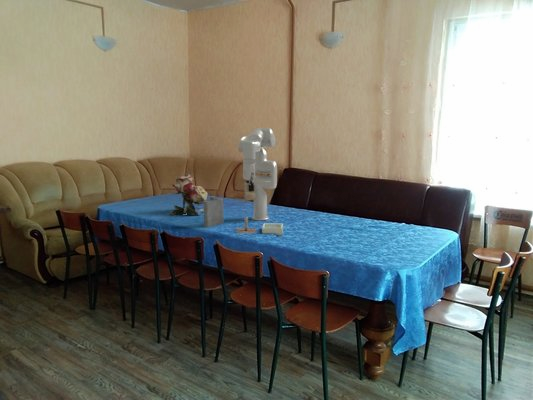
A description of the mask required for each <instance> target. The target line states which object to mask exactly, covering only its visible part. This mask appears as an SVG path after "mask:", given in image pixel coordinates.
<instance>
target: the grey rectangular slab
mask: <svg viewBox="0 0 533 400" xmlns="http://www.w3.org/2000/svg"><path fill="white" fill-rule="evenodd" d="M209 198H210V199H208V200H207V199H206V200H205V201H204V203H203V209H204V213H203V227H204V228H210V226H211V227H215V226H219V224H220V225H221V224H223V223H224V198H221V197H220V198H216V196H215V195H211V196H209ZM214 225H215V226H214Z"/></svg>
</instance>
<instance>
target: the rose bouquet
mask: <svg viewBox="0 0 533 400" xmlns="http://www.w3.org/2000/svg"><path fill="white" fill-rule="evenodd" d="M193 184H194V178H193V176H192V175H191V174H189V173H186V174H183V175H181V176H180V177H177V178H176V179H175V183H173V184H171V186H172V187H174V190H175V191H176V192H173V193H172V195H180V194H181V197H182V199H183V200H182V206H178V205H175V204H174V205H173V207H174V209H172V210H171V211H169V216H172V215H176V216H177V215H183V214H186V213H187V215H186V216H190V215H196V216H200V215H199V214H198V213H197V212H199V213H200V211H204V208H201V207H200V208H199V209H196V207H195V205H197V207H199V206H200V205H204V201H207V198H208V194H209V193H208V192H207V191H206V190H205V188H204V187H203V186H200V185H193ZM185 205H187V206H185ZM195 210H197V212H196V211H195Z"/></svg>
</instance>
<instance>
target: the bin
mask: <svg viewBox="0 0 533 400" xmlns="http://www.w3.org/2000/svg"><path fill="white" fill-rule="evenodd" d="M261 232H262V234H276V236H277V237H282V236H283V234H284V233H283V232H284V223H280V222H279V223H275V222H271V223H270V222H269V223H267V222H265V223H263V225H262V227H261Z"/></svg>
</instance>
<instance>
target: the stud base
mask: <svg viewBox="0 0 533 400" xmlns="http://www.w3.org/2000/svg"><path fill="white" fill-rule="evenodd" d="M243 220H244V227H238V228H237V229H236V231H235V233H238V234H255V233H256V232H257V231H256V230H257V228H255V227H254V228H253V227H250V228H249V226H248V221H249V216H244V217H243ZM235 233H234V234H235Z"/></svg>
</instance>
